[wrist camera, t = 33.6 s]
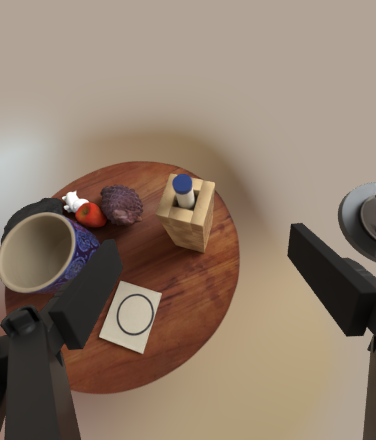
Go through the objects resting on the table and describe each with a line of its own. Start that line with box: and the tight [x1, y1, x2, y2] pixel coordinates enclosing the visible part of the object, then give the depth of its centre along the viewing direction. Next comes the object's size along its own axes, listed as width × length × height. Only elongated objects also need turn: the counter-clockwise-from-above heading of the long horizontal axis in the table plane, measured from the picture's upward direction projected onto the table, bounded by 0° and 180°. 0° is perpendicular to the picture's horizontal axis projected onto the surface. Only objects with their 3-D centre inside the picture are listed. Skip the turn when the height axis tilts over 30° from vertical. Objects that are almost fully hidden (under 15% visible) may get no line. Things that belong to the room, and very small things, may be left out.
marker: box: [172, 174, 195, 211], centre depth 35 cm, size 3×3×13 cm
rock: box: [1, 198, 63, 245], centre depth 53 cm, size 16×14×7 cm
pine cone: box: [100, 185, 143, 227], centre depth 54 cm, size 18×10×10 cm
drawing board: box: [99, 281, 162, 353], centre depth 48 cm, size 11×13×1 cm
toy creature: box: [62, 191, 88, 213], centre depth 58 cm, size 5×8×6 cm
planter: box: [0, 212, 100, 294], centre depth 47 cm, size 16×17×15 cm
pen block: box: [156, 174, 215, 253], centre depth 44 cm, size 8×8×22 cm
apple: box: [75, 202, 107, 228], centre depth 54 cm, size 6×6×8 cm
